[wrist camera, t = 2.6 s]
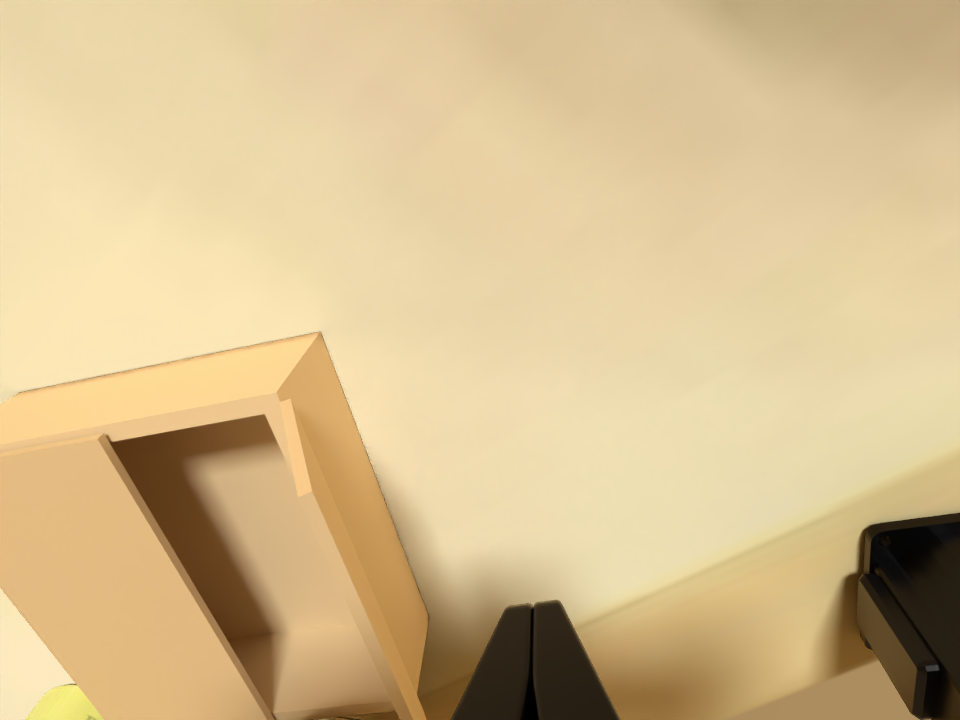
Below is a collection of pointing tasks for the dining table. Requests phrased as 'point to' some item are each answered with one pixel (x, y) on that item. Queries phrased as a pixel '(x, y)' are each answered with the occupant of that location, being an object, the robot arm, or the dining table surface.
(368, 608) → the flap
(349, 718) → the supplement can
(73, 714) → the tube
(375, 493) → the carton
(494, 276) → the dining table surface
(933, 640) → the robot arm
